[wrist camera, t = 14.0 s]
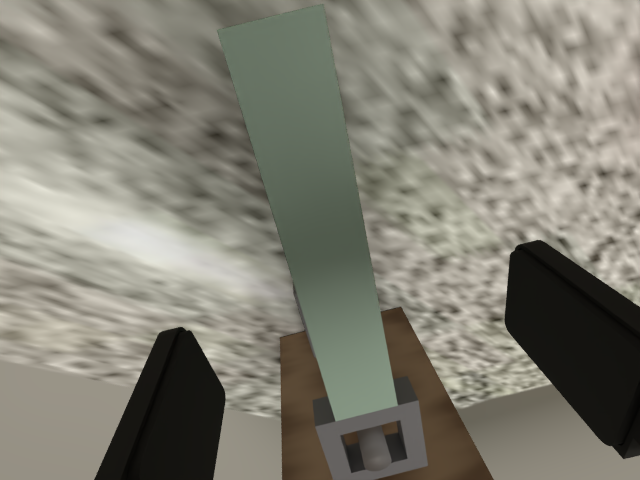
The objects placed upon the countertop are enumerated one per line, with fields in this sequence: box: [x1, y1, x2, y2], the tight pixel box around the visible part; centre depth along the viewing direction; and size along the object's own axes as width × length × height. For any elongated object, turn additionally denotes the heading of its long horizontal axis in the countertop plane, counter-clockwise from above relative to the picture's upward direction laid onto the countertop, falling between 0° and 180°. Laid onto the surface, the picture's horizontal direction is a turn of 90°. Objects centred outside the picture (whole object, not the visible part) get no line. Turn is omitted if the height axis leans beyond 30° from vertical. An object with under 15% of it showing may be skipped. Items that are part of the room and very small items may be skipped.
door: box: [217, 4, 428, 480], centre depth 18 cm, size 5×21×11 cm, turn 12°
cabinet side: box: [280, 282, 494, 480], centre depth 22 cm, size 12×10×20 cm
